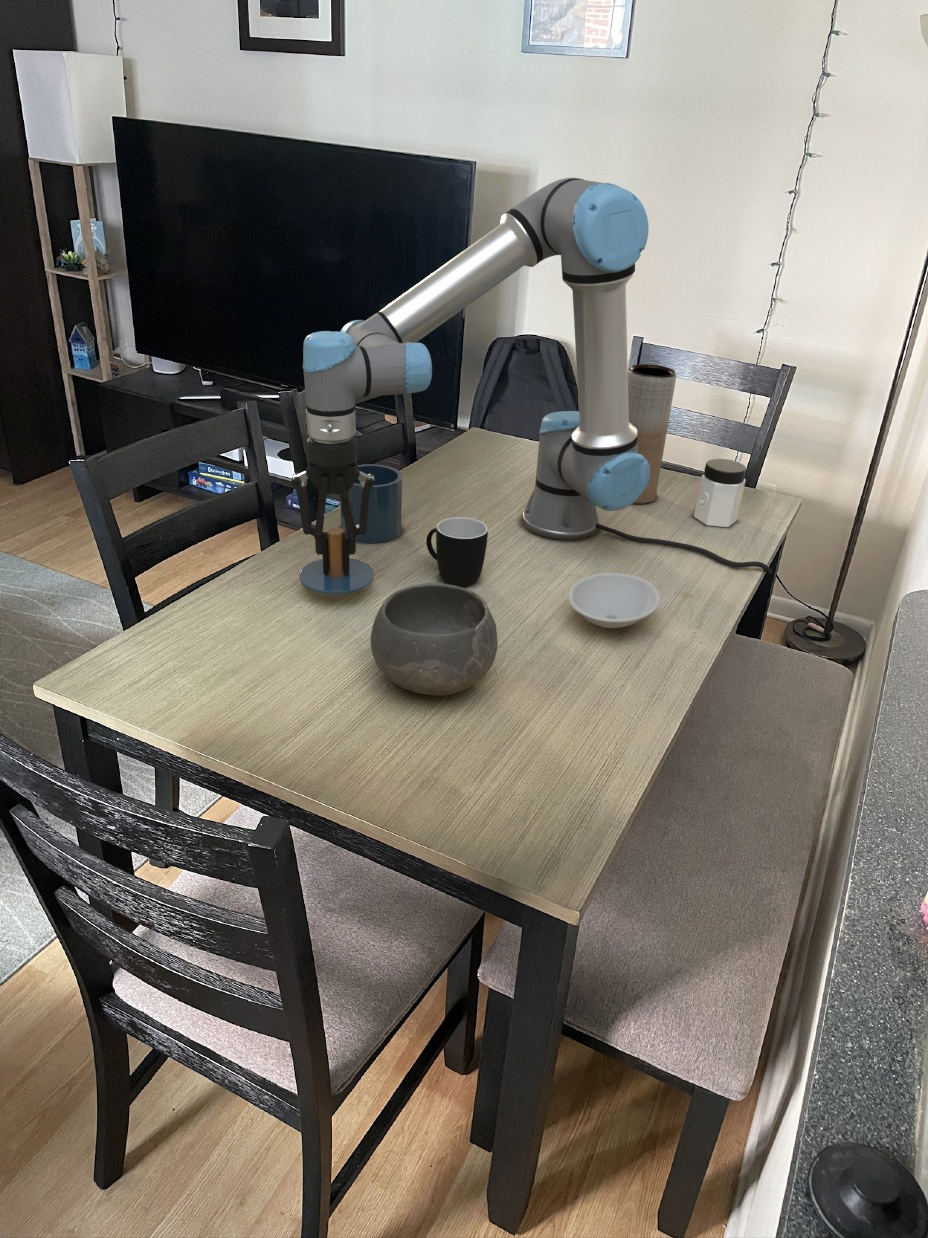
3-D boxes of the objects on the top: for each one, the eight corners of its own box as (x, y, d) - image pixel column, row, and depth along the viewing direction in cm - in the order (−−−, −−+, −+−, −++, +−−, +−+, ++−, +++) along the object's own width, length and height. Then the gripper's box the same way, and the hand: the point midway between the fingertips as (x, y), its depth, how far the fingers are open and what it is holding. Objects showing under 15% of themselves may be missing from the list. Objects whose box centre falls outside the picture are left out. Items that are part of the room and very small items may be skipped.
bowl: (510, 708, 126) (517, 632, 119) (385, 726, 121) (385, 647, 115) (473, 643, 140) (478, 572, 134) (360, 656, 136) (359, 583, 129)
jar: (686, 513, 190) (696, 459, 184) (717, 508, 193) (728, 456, 187) (711, 530, 183) (723, 475, 177) (743, 525, 186) (756, 471, 180)
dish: (626, 659, 139) (631, 631, 136) (546, 628, 145) (549, 602, 143) (671, 615, 152) (676, 589, 149) (596, 589, 158) (599, 564, 156)
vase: (627, 483, 203) (646, 361, 189) (664, 497, 198) (686, 371, 184) (601, 494, 197) (618, 368, 183) (638, 508, 191) (659, 379, 177)
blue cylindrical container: (413, 531, 176) (414, 476, 170) (370, 548, 168) (370, 491, 162) (372, 513, 182) (372, 459, 176) (329, 529, 174) (327, 474, 168)
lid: (389, 580, 152) (389, 531, 147) (334, 606, 144) (332, 555, 139) (339, 556, 159) (337, 508, 154) (283, 579, 151) (280, 530, 146)
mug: (494, 578, 160) (498, 526, 155) (464, 596, 154) (467, 543, 148) (441, 558, 166) (443, 507, 161) (410, 574, 159) (412, 522, 154)
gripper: (277, 443, 135) (286, 581, 147) (382, 445, 136) (383, 581, 148) (282, 427, 141) (291, 560, 153) (383, 429, 142) (383, 560, 154)
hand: (336, 570), depth 150 cm, fingers closed on lid, 3 cm apart
